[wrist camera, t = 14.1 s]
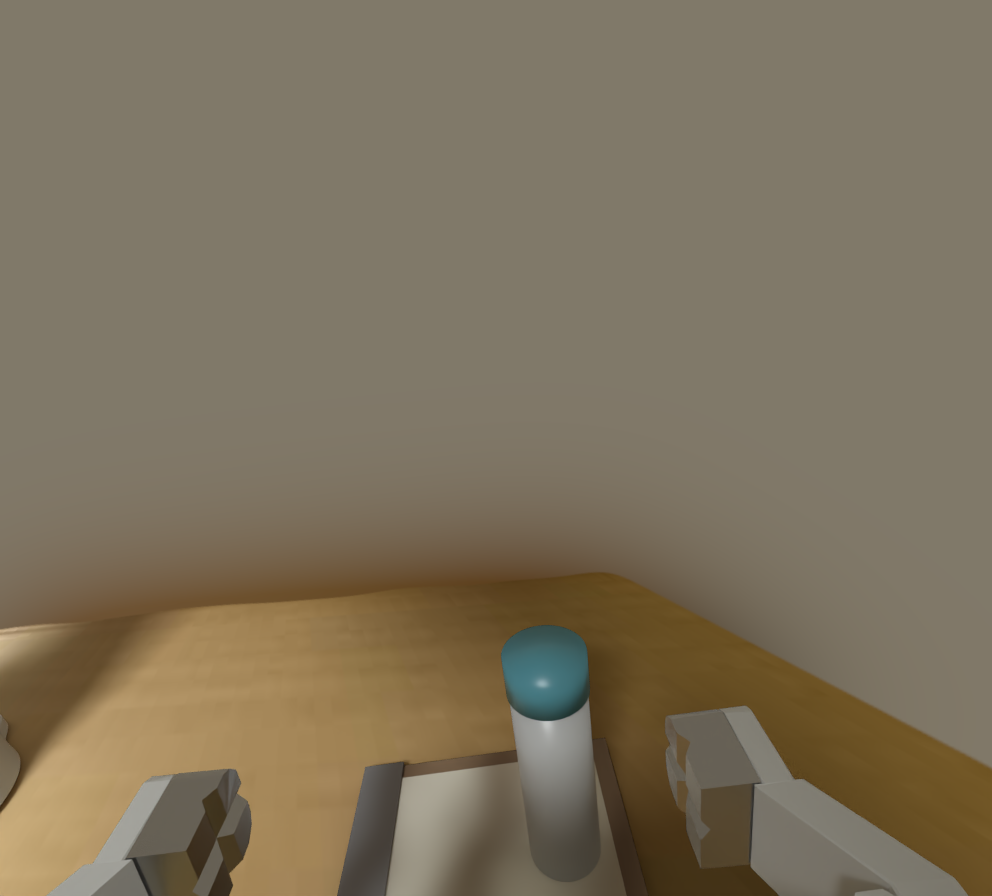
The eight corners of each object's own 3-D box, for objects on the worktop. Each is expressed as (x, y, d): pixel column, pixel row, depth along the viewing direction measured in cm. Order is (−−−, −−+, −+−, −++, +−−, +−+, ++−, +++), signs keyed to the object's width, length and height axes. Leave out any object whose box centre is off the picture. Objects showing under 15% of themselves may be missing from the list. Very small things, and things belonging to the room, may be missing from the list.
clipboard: (322, 988, 25) (319, 977, 25) (367, 775, 36) (365, 767, 35) (660, 942, 25) (659, 931, 25) (605, 742, 35) (604, 733, 35)
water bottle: (532, 889, 27) (503, 688, 23) (524, 815, 31) (499, 630, 27) (610, 878, 27) (595, 676, 23) (594, 806, 31) (578, 620, 27)
